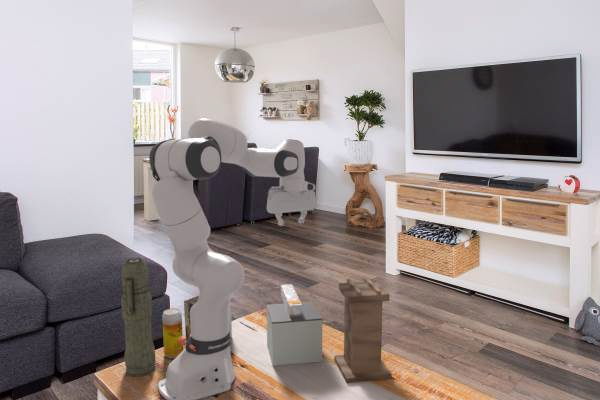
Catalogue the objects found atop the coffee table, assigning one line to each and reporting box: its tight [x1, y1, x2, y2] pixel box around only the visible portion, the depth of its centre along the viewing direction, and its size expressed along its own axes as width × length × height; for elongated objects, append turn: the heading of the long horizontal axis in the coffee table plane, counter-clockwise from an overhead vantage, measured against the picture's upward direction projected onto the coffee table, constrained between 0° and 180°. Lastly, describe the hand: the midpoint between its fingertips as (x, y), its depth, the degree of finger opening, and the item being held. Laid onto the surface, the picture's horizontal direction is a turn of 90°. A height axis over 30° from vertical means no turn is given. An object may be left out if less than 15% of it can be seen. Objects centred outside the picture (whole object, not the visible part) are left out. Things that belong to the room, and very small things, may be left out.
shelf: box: [266, 300, 323, 367], centre depth 156 cm, size 15×16×14 cm
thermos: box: [120, 257, 156, 377], centre depth 144 cm, size 9×12×35 cm
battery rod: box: [280, 283, 302, 318], centre depth 159 cm, size 21×4×4 cm, turn 10°
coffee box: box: [183, 295, 199, 340], centre depth 161 cm, size 9×6×16 cm
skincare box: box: [228, 304, 233, 338], centre depth 168 cm, size 6×4×12 cm
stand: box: [333, 277, 393, 384], centre depth 144 cm, size 14×14×27 cm
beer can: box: [161, 308, 184, 359], centre depth 155 cm, size 6×6×15 cm
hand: (291, 224), depth 168 cm, fingers open, 8 cm apart
